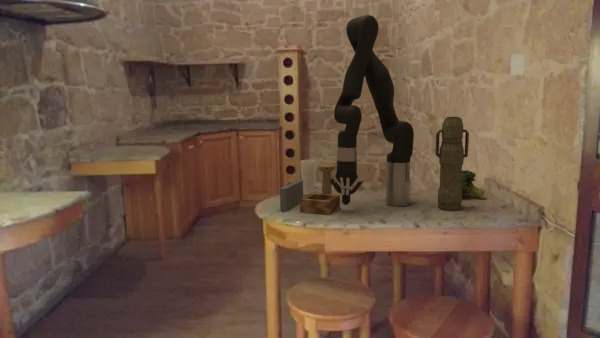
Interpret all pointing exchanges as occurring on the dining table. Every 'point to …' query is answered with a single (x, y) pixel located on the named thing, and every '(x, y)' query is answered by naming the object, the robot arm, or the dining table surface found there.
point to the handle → (326, 178)
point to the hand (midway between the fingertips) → (345, 204)
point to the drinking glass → (308, 175)
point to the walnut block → (320, 203)
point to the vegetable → (470, 185)
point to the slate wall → (291, 195)
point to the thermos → (451, 163)
